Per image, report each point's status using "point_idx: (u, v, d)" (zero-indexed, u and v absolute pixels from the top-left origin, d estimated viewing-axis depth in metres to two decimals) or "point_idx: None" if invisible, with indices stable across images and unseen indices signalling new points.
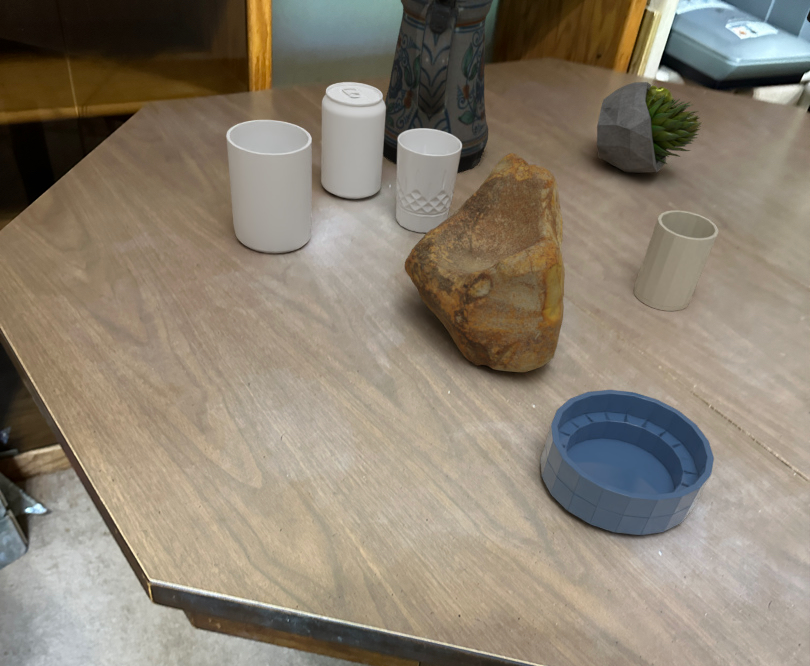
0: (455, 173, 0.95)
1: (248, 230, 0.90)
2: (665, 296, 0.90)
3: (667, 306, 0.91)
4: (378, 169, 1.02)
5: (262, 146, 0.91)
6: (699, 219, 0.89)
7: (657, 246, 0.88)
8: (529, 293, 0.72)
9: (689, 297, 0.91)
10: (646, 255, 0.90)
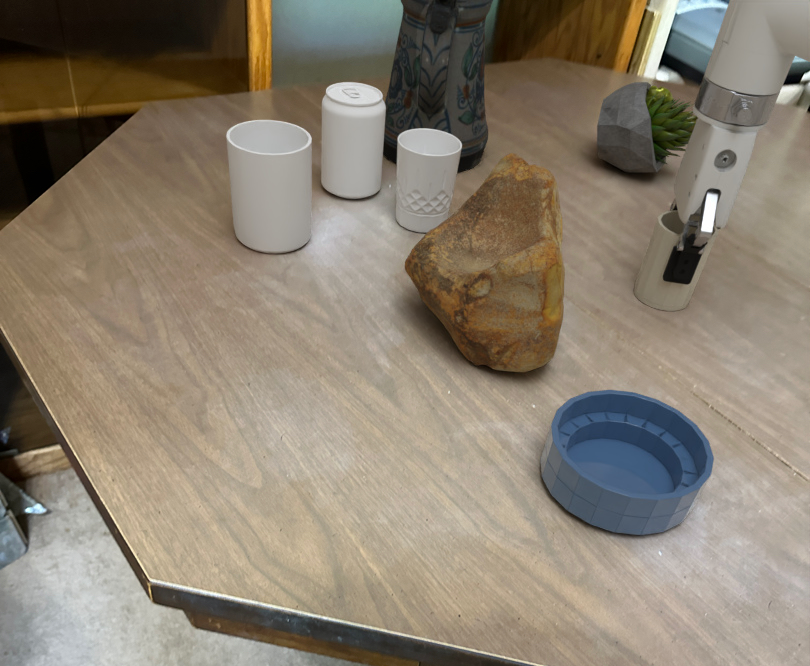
0: (455, 173, 0.95)
1: (248, 230, 0.90)
2: (665, 296, 0.90)
3: (667, 306, 0.91)
4: (378, 169, 1.02)
5: (262, 146, 0.91)
6: None
7: (657, 246, 0.88)
8: (529, 293, 0.72)
9: (689, 297, 0.91)
10: (646, 255, 0.90)
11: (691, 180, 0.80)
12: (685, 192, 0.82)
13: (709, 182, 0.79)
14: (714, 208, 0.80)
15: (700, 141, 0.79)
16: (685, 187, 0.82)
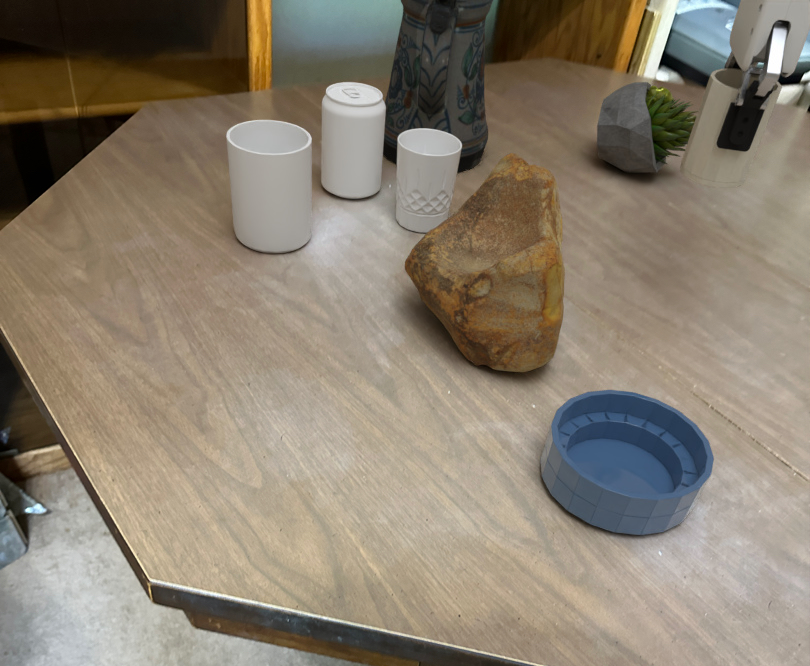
0: (455, 173, 0.95)
1: (248, 230, 0.90)
2: (718, 169, 0.78)
3: (720, 182, 0.79)
4: (378, 169, 1.02)
5: (262, 146, 0.91)
6: (758, 78, 0.77)
7: (710, 107, 0.76)
8: (529, 293, 0.72)
9: (745, 172, 0.79)
10: (696, 122, 0.78)
11: (755, 14, 0.68)
12: (747, 31, 0.70)
13: (777, 12, 0.67)
14: (782, 45, 0.68)
15: None
16: (746, 26, 0.70)
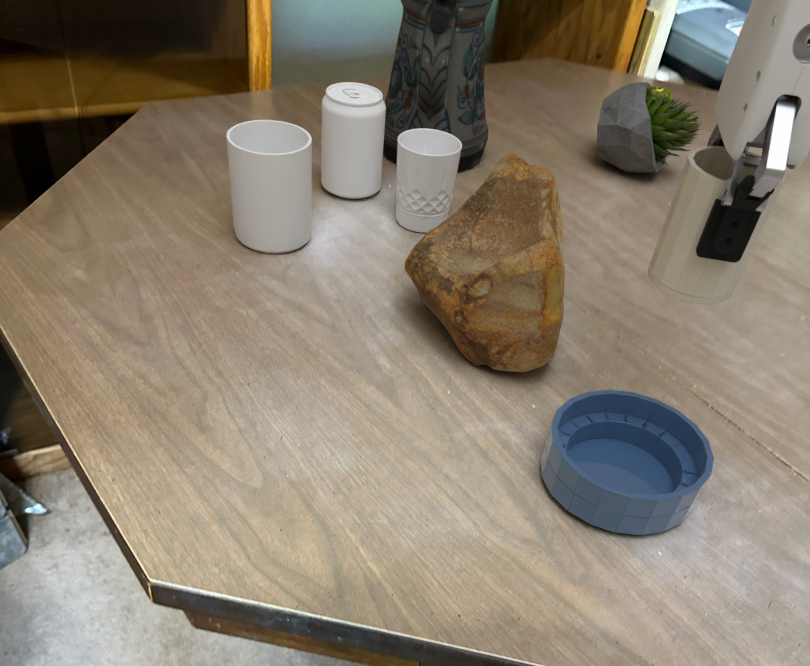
0: (455, 173, 0.95)
1: (248, 230, 0.90)
2: (697, 281, 0.58)
3: (700, 297, 0.59)
4: (378, 169, 1.02)
5: (262, 146, 0.91)
6: None
7: (687, 201, 0.55)
8: (529, 293, 0.72)
9: (734, 283, 0.59)
10: (668, 217, 0.58)
11: (750, 83, 0.48)
12: (739, 106, 0.49)
13: (782, 84, 0.46)
14: (789, 129, 0.47)
15: (767, 14, 0.46)
16: (738, 98, 0.49)
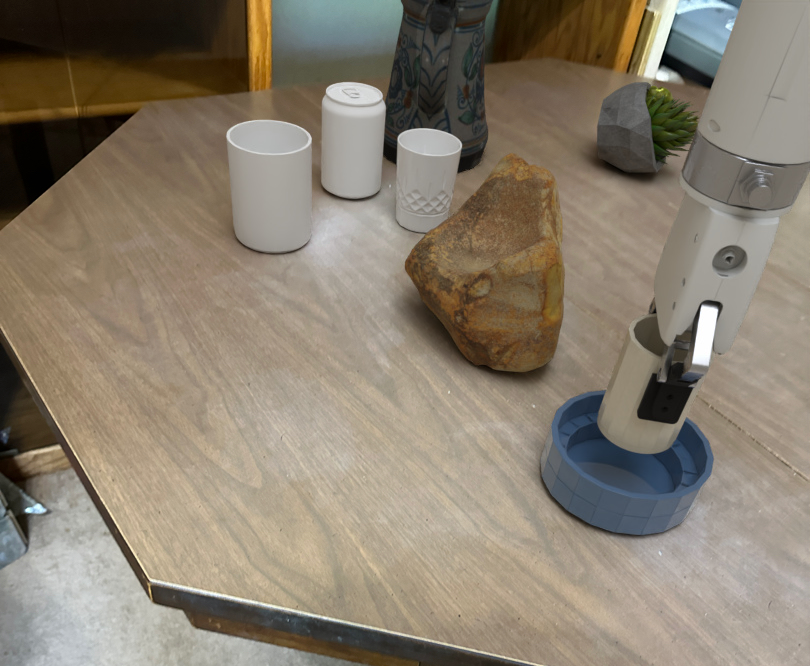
0: (455, 173, 0.95)
1: (248, 230, 0.90)
2: (640, 435, 0.63)
3: (643, 448, 0.63)
4: (378, 169, 1.02)
5: (262, 146, 0.91)
6: None
7: (628, 368, 0.60)
8: (529, 293, 0.72)
9: (675, 435, 0.64)
10: (613, 377, 0.63)
11: (677, 286, 0.53)
12: (669, 300, 0.54)
13: (704, 291, 0.51)
14: (712, 329, 0.52)
15: (691, 228, 0.51)
16: (668, 292, 0.54)
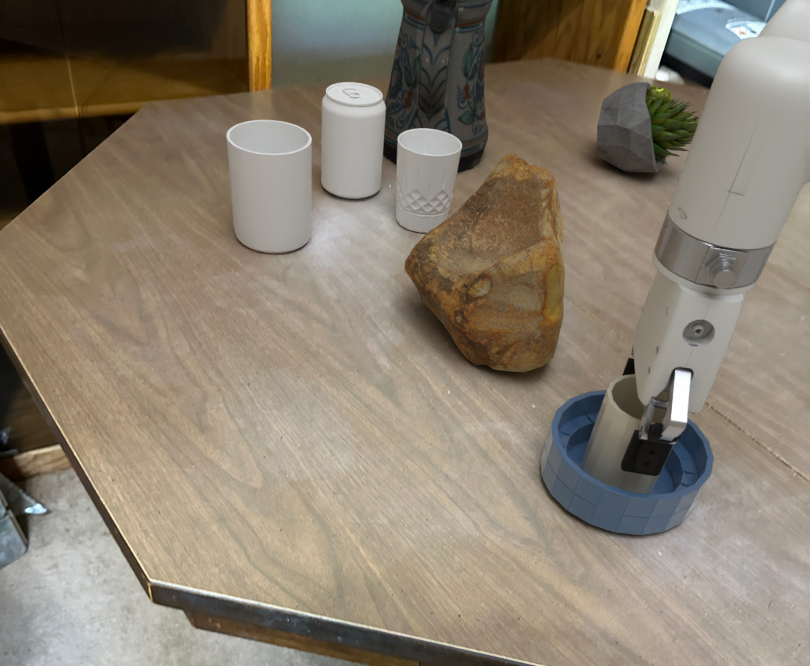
0: (455, 173, 0.95)
1: (248, 230, 0.90)
2: (619, 487, 0.67)
3: None
4: (378, 169, 1.02)
5: (262, 146, 0.91)
6: None
7: (606, 427, 0.65)
8: (529, 293, 0.72)
9: (652, 486, 0.68)
10: (593, 432, 0.67)
11: (652, 352, 0.57)
12: (645, 364, 0.58)
13: (676, 359, 0.55)
14: (687, 389, 0.56)
15: (663, 301, 0.55)
16: (644, 357, 0.58)
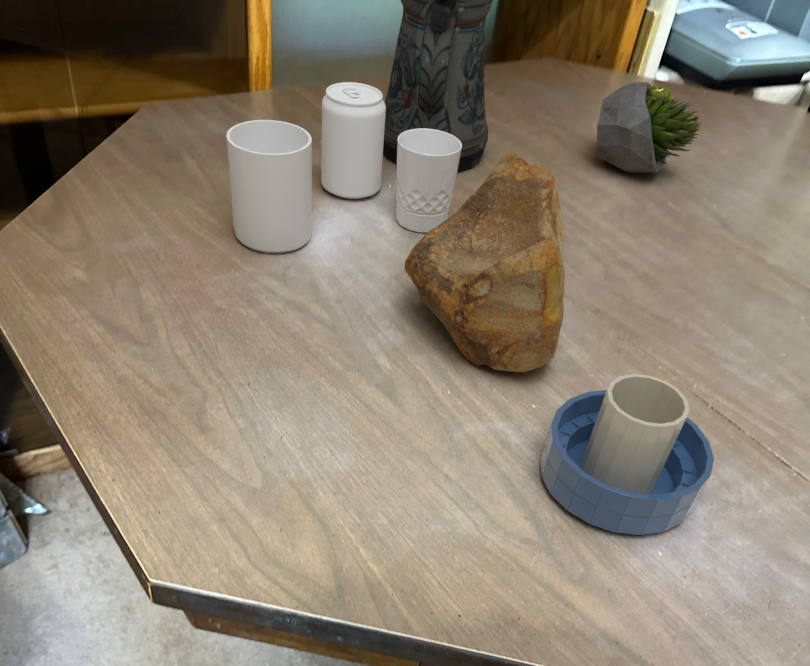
0: (455, 173, 0.95)
1: (248, 230, 0.90)
2: (619, 487, 0.67)
3: None
4: (378, 169, 1.02)
5: (262, 146, 0.91)
6: (665, 387, 0.66)
7: (606, 427, 0.65)
8: (529, 293, 0.72)
9: (652, 486, 0.68)
10: (593, 432, 0.67)
11: None
12: None
13: None
14: None
15: None
16: None
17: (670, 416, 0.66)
